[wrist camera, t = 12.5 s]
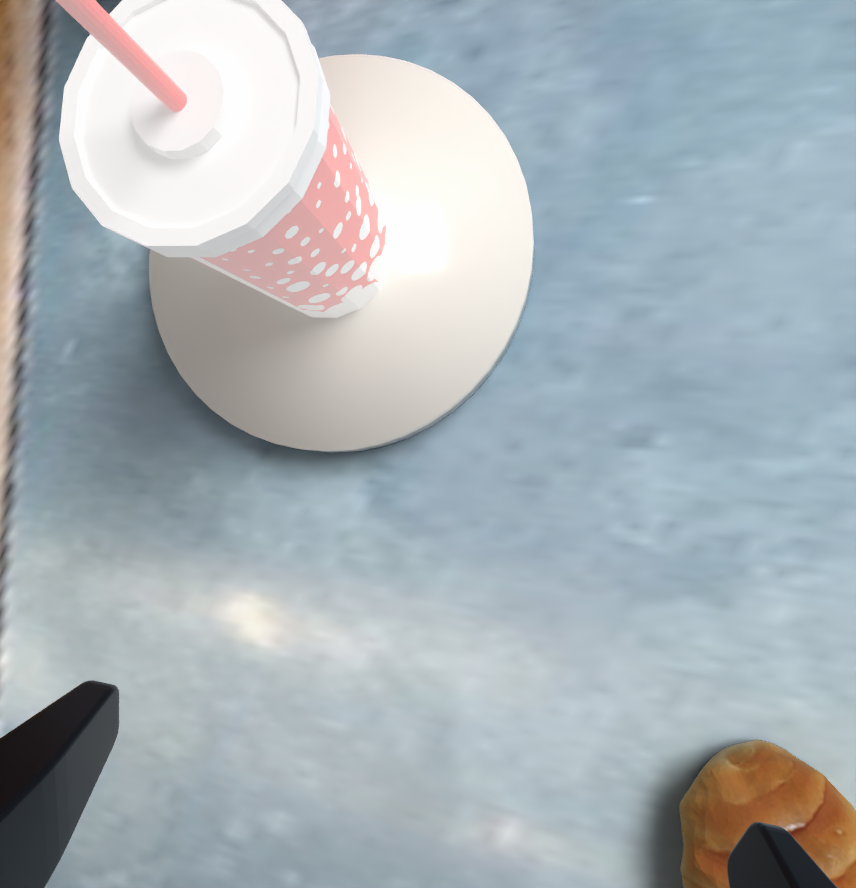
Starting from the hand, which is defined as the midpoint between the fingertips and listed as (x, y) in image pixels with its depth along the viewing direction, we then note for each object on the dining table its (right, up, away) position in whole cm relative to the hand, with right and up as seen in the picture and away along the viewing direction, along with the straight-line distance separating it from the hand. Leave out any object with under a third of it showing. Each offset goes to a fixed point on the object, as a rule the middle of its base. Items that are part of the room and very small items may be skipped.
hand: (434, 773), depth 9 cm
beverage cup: (-3, +11, +14) cm, 18 cm away
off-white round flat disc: (-3, +11, +15) cm, 19 cm away
